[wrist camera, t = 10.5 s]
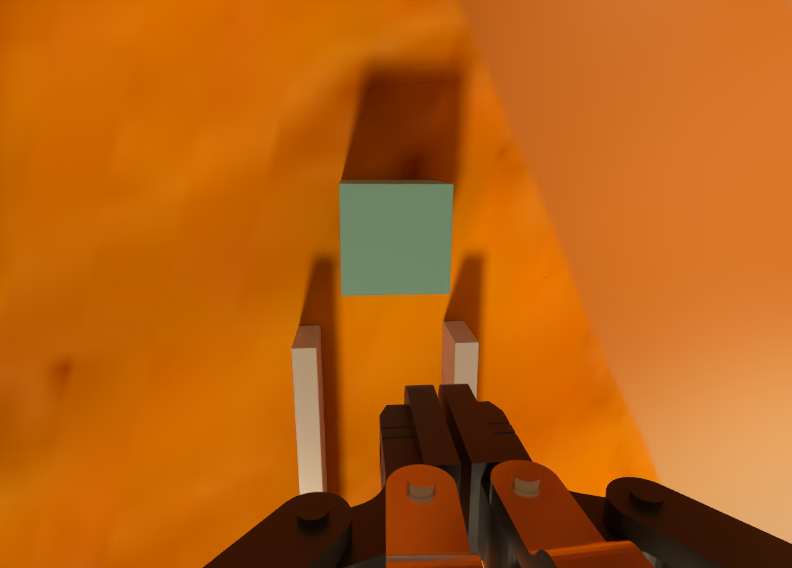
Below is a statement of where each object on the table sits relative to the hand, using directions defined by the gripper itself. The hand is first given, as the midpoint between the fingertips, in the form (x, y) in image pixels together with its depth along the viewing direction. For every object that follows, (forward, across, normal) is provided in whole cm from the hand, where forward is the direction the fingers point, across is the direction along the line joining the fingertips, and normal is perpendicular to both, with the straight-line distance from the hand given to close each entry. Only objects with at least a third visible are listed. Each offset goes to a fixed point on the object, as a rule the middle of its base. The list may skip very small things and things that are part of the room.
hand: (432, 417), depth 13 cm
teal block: (+15, 0, -3) cm, 16 cm away
